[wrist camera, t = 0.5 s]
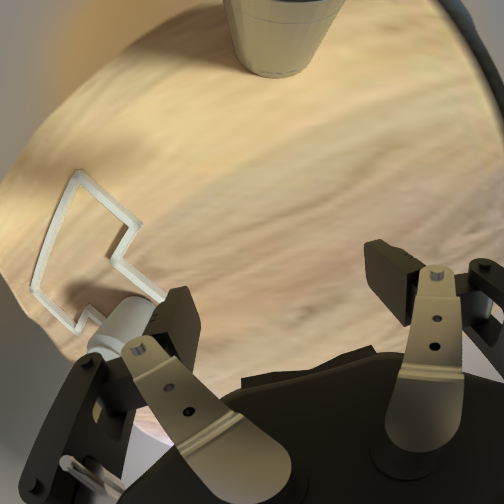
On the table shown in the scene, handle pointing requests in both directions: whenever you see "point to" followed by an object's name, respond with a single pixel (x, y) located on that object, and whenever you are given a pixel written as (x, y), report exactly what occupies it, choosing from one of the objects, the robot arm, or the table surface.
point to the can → (121, 327)
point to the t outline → (115, 260)
